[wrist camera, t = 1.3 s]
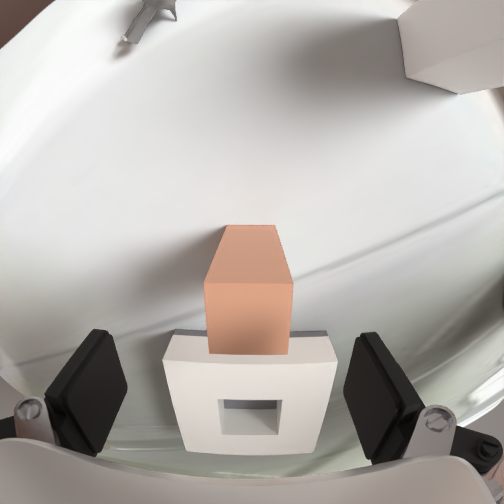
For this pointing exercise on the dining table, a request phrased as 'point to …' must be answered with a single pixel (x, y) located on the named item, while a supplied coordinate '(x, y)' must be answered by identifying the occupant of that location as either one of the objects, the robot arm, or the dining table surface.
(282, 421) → the socket block
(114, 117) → the dining table surface
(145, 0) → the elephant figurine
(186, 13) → the dining table surface
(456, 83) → the milk carton
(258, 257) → the peg
